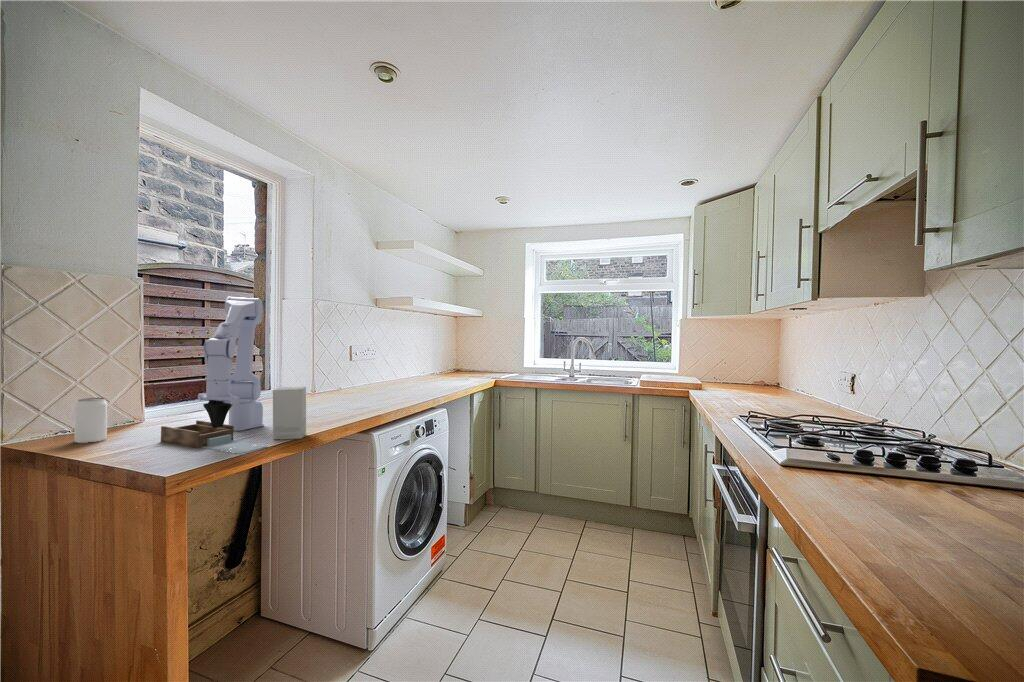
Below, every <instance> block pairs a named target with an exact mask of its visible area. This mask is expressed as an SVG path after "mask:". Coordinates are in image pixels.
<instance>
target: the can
mask: <svg viewBox="0 0 1024 682" xmlns="http://www.w3.org/2000/svg"><path fill="white" fill-rule="evenodd" d="M107 435H108V402H107V401H106V398H105V397H87V398H79V399H77V403H76V404H75V407H74V437H73V438H74V440H73V441H74V442H75V443H76V442H77V443H76V444H89V443H88V442H94V443H98V442H97V441H99V442H102V441H101V440H103V441H105V440H106V439H107ZM104 439H105V440H104Z"/></svg>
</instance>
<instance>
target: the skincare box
mask: <svg viewBox="0 0 1024 682" xmlns="http://www.w3.org/2000/svg"><path fill="white" fill-rule="evenodd" d="M305 435H307V386H280V387H276V388H275V389H273V390H272V440H273V439H280V440H299V439H303V438H304V437H305Z"/></svg>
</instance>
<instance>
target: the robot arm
mask: <svg viewBox="0 0 1024 682" xmlns="http://www.w3.org/2000/svg"><path fill="white" fill-rule="evenodd" d="M224 310H225V313H226V318H225V321H223V322H221V323H219V324H218V326H217V328H216V330H215V332H214V333H213V336H212V337H210V338H209V339H206V340H205V341H204V343H203V350H202V351H203V355H204V363H205V365H206V382H205V384H206V388H205V392H202V393H198V394H197V401H206V403H203V404H202V405H203V408H204V409H205V411H206V412H207V414H208V417H209V420H210V422H211V424H212V427H213V428H219V427H223V424H225V421H226V418H227V415H228V425H233V426H234V431H235V432H239V431H245V430H248V429H249V430H250V429H255V428H259V427H264V426H265V424H264V423H263V420H264V419H263V417H264V407H263V404H262V402H261V401H260V400H258V399H259V398H260V397H261V392H262V391H261V390H262V388H261V379H260V377H259V376H258V375H256V374H255V373H253V371H252V370H253V359H254V349H255V348H254V345H255V334H256V333H255V331H256V327H257V326H258V325H259V324H261V323H262V320H263V312H264V303H263V300H262V299H261V298H259V297H257V298H255V297H239V296H238V297H237V296H227V298H226V299H225V302H224ZM235 353H236V356H235ZM234 356H235V357H236V358H235V367H234V368H235V370H234V373H232V359H233V358H234Z"/></svg>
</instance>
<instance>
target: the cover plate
mask: <svg viewBox="0 0 1024 682" xmlns="http://www.w3.org/2000/svg"><path fill="white" fill-rule="evenodd" d="M252 444H253V445H254V444H255V443H251V442H244V441H238V440H234V439H233V440H231V435H229V434H228V435H223V436H219V437H214V438H209V439H207V446H203V449H207V448H208V450H212V449H215V450H214V451H218V450H223V451H228V452H230V451H231V452H234V453H238V454H237V455H239V454H240V455H242V454H241V453H243V454H247V453H250V452H255V451H259V450H263V449H266V448H268V445H264V446H262V444H257V443H256V444H257V446H253V445H252ZM252 446H253V447H252ZM234 447H235V448H234ZM230 448H232V449H230ZM229 449H230V450H229ZM223 451H222V452H223ZM228 452H227V453H228ZM234 453H233V454H234Z"/></svg>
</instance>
